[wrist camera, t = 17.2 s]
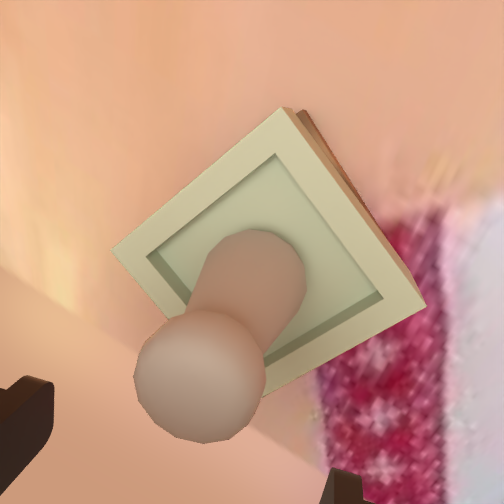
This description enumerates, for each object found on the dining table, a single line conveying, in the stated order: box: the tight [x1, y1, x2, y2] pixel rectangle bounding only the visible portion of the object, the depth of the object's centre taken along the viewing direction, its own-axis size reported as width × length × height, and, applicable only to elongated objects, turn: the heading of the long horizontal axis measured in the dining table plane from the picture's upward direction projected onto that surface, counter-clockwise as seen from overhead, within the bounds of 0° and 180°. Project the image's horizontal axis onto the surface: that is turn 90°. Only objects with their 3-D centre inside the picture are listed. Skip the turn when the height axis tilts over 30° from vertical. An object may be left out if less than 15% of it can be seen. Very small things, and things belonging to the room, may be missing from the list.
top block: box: [110, 107, 427, 398], centre depth 26 cm, size 13×13×6 cm
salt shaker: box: [133, 229, 307, 444], centre depth 19 cm, size 6×6×13 cm
